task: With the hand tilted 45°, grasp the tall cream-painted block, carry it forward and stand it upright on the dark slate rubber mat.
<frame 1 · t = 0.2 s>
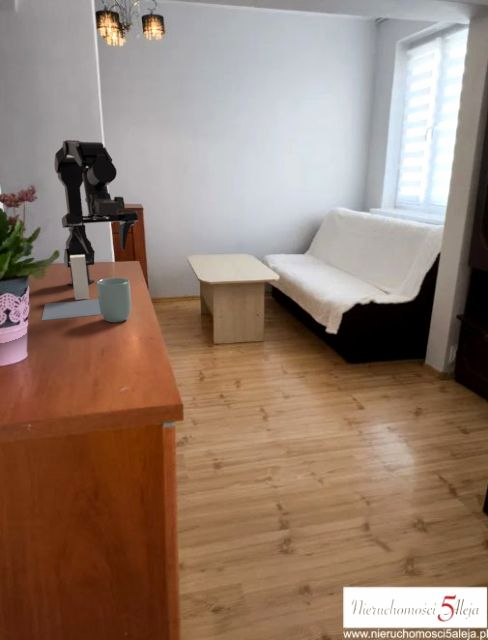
hand: (106, 251, 121), 15 cm above the table, tool pointing down, fingers open, 9 cm apart
block: (82, 297, 136), on the table
slate mat: (82, 308, 125), on the table
cup: (116, 320, 115), on the table
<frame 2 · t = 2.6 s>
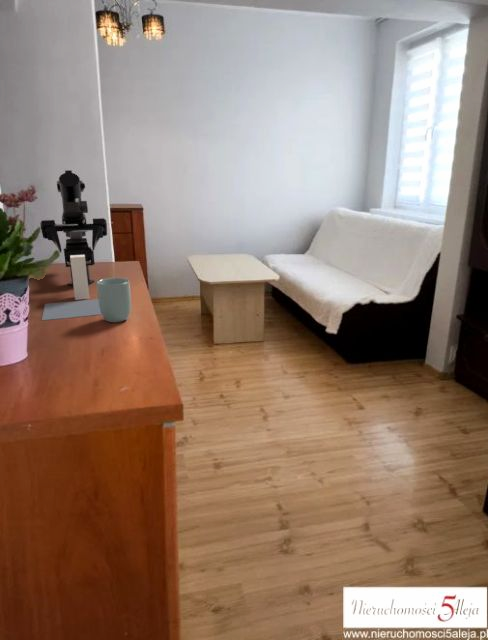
hand: (77, 250, 136), 13 cm above the table, tool tilted 45°, fingers open, 9 cm apart
nothing on the table moved.
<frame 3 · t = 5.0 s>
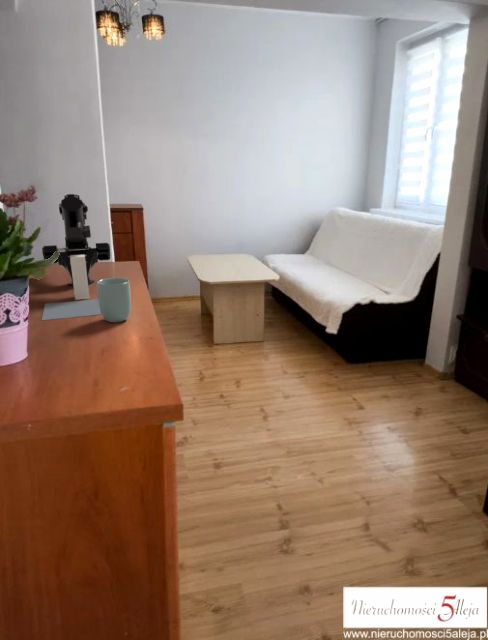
hand: (79, 276, 133), 7 cm above the table, tool tilted 45°, fingers closed on block, 4 cm apart
block: (82, 297, 136), on the table, touching gripper
everything else where it was.
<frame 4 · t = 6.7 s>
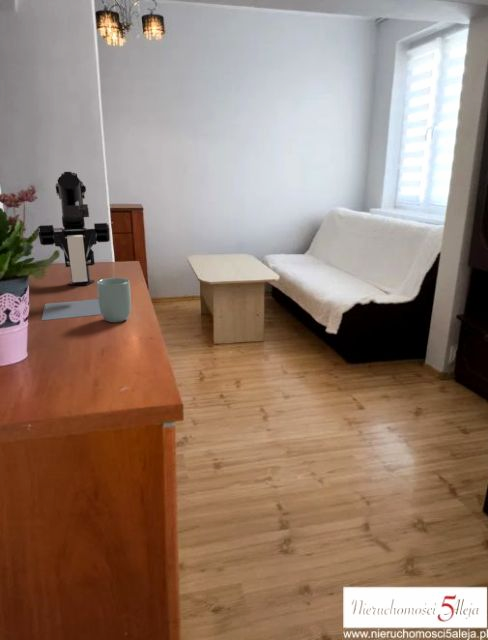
hand: (77, 257, 126), 13 cm above the table, tool tilted 45°, fingers closed on block, 4 cm apart
block: (80, 280, 129), point 6 cm above the table, touching gripper
everything else where it was.
when the fingers open (8 cm above the table, at t = 8.7 s): block drops 1 cm, resting on slate mat.
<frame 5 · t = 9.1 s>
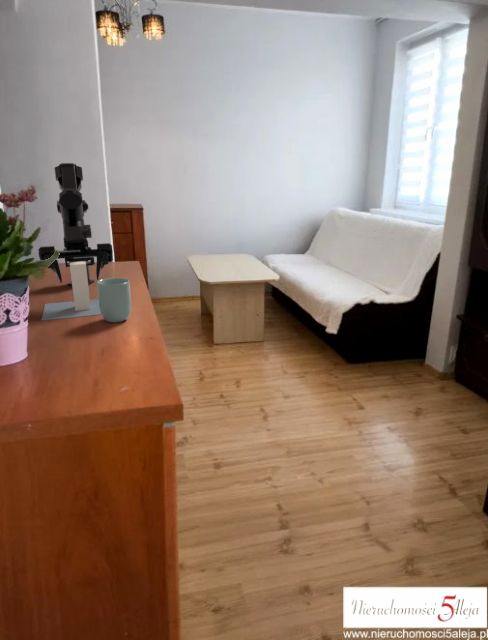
hand: (79, 280, 121), 8 cm above the table, tool tilted 45°, fingers open, 9 cm apart
block: (83, 307, 125), resting on slate mat
everything else where it was.
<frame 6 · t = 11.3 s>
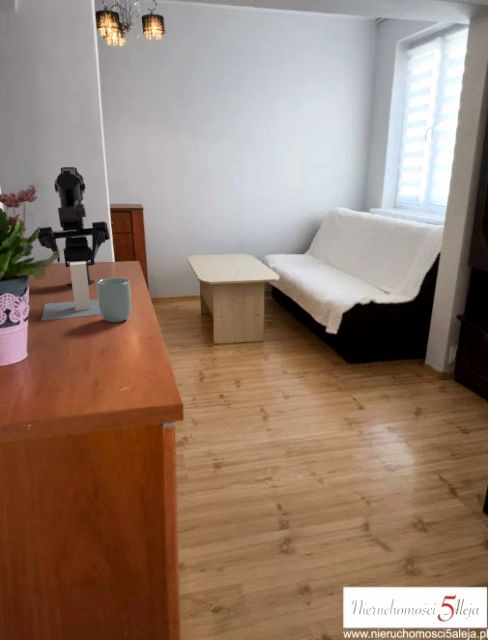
hand: (76, 259, 125), 13 cm above the table, tool tilted 40°, fingers open, 9 cm apart
nothing on the table moved.
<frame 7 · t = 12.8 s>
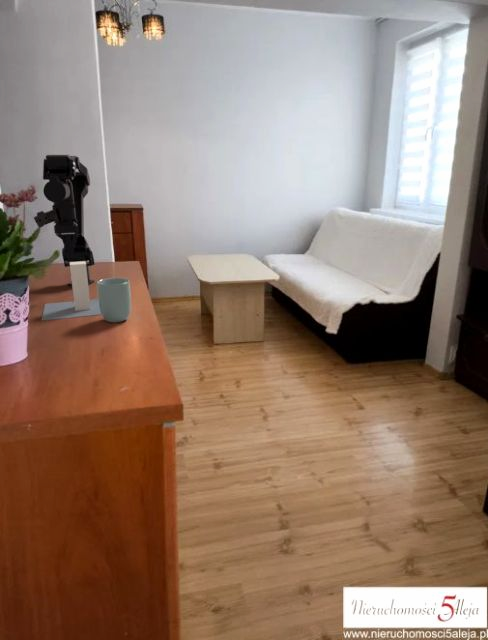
hand: (70, 254, 137), 12 cm above the table, tool pointing down, fingers open, 9 cm apart
nothing on the table moved.
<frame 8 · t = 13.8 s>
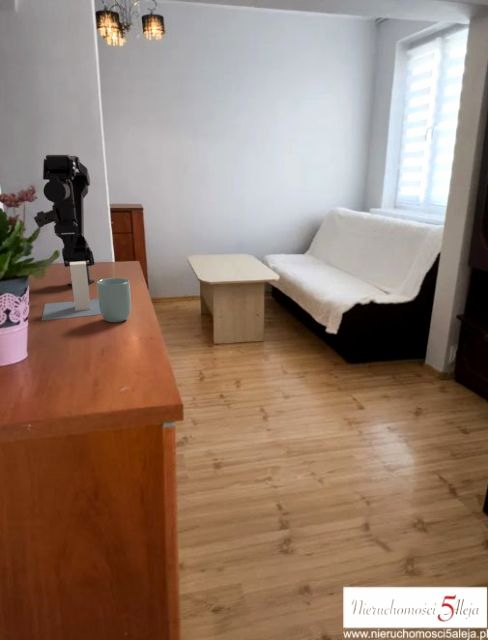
hand: (70, 254, 137), 12 cm above the table, tool pointing down, fingers open, 9 cm apart
nothing on the table moved.
at the end: block inside the target area on the slate mat (0.0 cm from its centre), point 0.1 cm above the slate mat's base; block tilted 0°; the gripper is holding nothing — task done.
